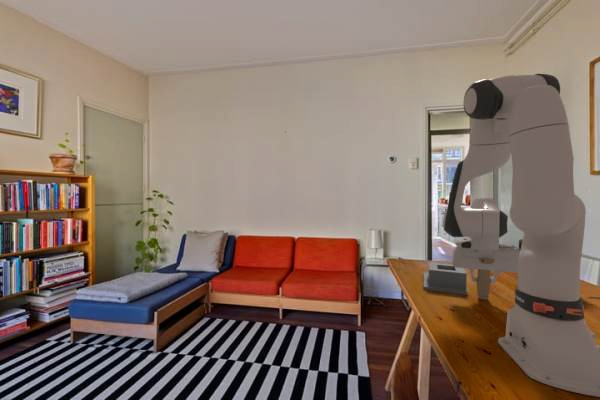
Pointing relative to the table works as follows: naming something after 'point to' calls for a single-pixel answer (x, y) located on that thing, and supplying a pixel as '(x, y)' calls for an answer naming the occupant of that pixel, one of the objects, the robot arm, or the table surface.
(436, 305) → the table surface
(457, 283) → the socket block
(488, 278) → the handle
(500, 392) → the table surface
